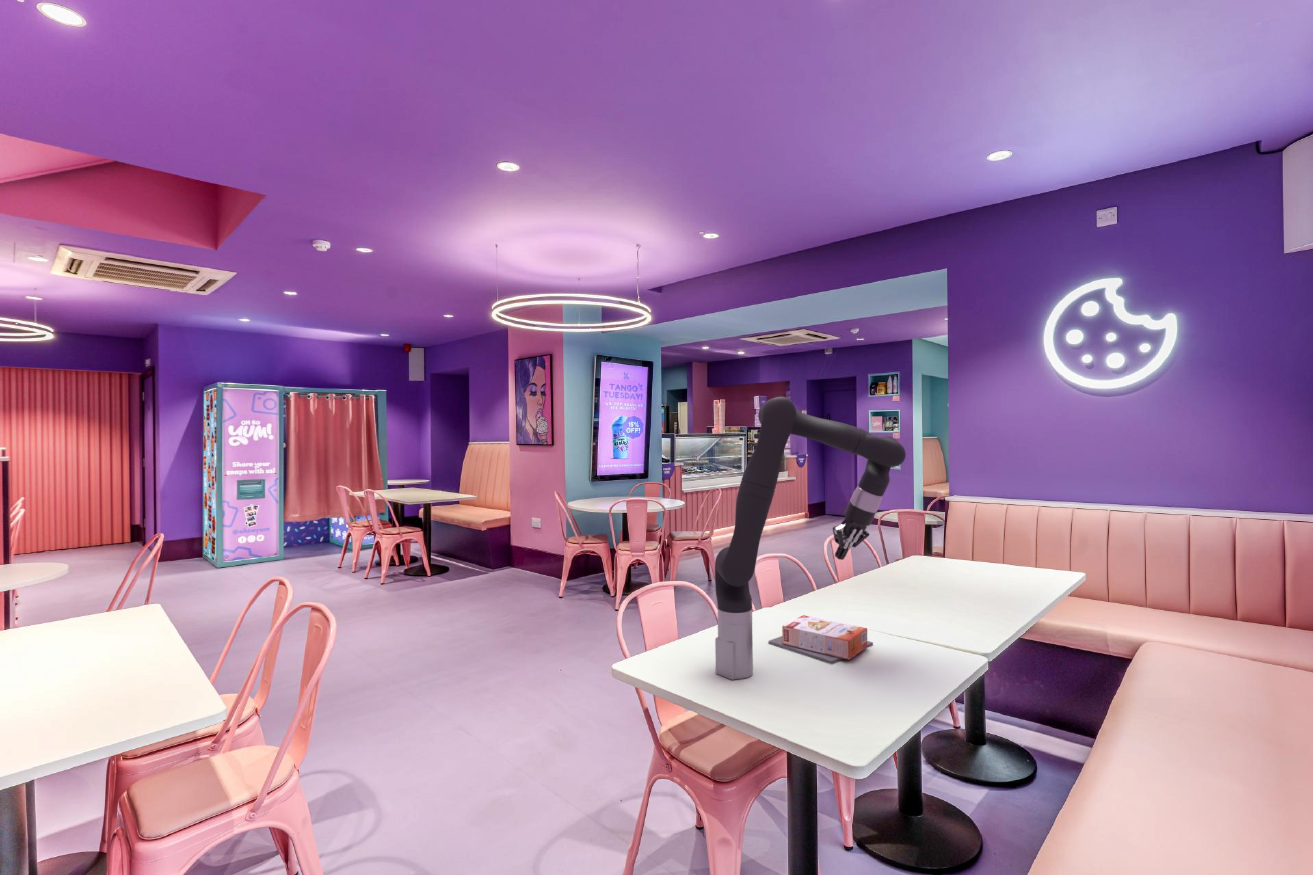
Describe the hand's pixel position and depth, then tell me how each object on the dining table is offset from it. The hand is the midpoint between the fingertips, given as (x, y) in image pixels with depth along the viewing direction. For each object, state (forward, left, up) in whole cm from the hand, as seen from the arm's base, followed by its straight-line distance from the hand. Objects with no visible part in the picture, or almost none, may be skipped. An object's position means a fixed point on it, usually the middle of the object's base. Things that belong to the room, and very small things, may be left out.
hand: (838, 557), depth 167 cm
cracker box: (+4, -4, -24) cm, 25 cm away
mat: (+5, +10, -28) cm, 30 cm away
